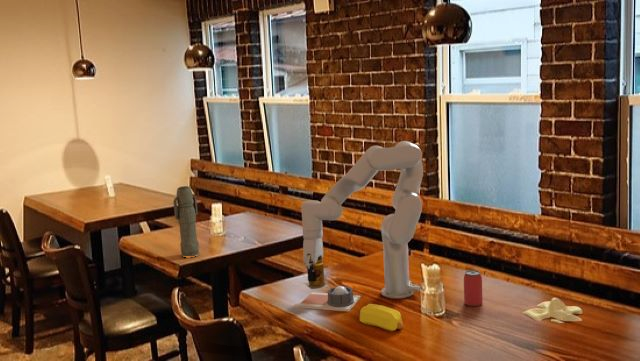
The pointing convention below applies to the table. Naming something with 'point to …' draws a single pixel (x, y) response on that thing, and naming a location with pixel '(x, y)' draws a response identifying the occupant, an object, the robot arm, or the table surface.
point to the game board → (326, 307)
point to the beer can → (473, 288)
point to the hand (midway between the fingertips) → (315, 277)
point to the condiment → (318, 276)
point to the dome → (340, 290)
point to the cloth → (554, 311)
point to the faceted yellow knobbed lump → (381, 317)
